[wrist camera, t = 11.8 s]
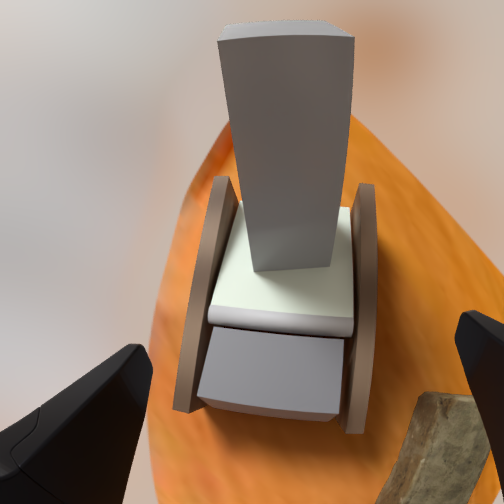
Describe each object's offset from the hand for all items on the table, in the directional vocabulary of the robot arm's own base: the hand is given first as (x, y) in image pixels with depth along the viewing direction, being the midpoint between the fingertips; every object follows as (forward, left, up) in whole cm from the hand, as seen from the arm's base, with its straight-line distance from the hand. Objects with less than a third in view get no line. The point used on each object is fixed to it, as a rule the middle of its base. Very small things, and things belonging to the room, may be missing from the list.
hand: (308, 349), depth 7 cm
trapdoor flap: (+3, +1, -12) cm, 13 cm away
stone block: (-8, -11, -14) cm, 19 cm away
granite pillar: (+7, +1, -10) cm, 13 cm away
